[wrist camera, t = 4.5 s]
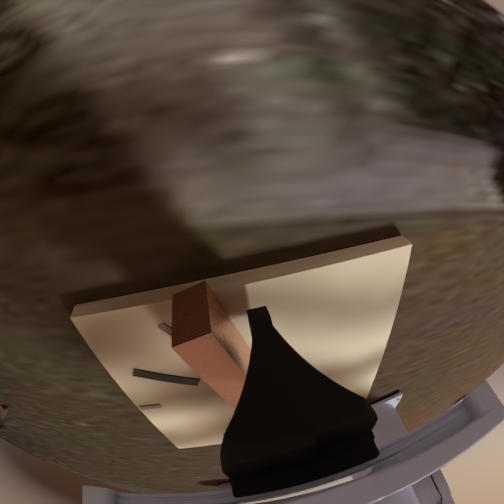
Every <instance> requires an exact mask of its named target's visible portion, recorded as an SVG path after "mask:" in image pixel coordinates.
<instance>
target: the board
mask: <svg viewBox="0 0 504 504" xmlns="http://www.w3.org/2000/svg"><path fill="white" fill-rule="evenodd" d="M411 247H412V244H411V243H410V242H409V241H408V240H407V239H406V238H404V237H403V236H402V235H401V236H397V237H393V238H388V239H384V240H380V241H376V242H372V243H367V244H363V245H359V246H354V247H350V248H346V249H341V250H337V251H333V252H328V253H324V254H320V255H315V256H311V257H306V258H302V259H297V260H293V261H288V262H284V263H279V264H275V265H270V266H265V267H261V268H256V269H252V270H247V271H242V272H238V273H233V274H228V275H223V276H219V277H214V278H209V279H204V280H199V281H195V282H190V283H185V284H180V285H175V286H170V287H165V288H160V289H155V290H150V291H145V292H140V293H135V294H130V295H125V296H120V297H114V298H109V299H104V300H99V301H93V302H88V303H83V304H77V305H75V306H74V309H73V311H72V314H71V317H70V319H71V320H72V322H73V323H74V325H75V326H76V328H77V329H78V331H79V332H80V334H81V335H82V337H83V338H84V340H85V341H86V343H87V344H88V346H89V347H90V348H91V350H92V351H93V353H94V354H95V355H96V357H97V358H98V359H99V361H100V362H101V363H102V365H103V366H104V367H105V369H106V370H107V371H108V372H109V374H110V375H111V376H112V378H113V379H114V380H115V381H116V382H117V384H118V385H119V386H120V387H121V389H122V390H123V391H124V392H125V393H126V394H127V396H128V397H129V398H130V399H131V400H132V401H133V402H134V404H135V405H136V406H137V407H138V408H139V409H140V410H141V411H142V412H143V414H144V415H145V416H146V417H147V418H148V419H149V420H150V421H151V422H152V423H153V424H154V425H155V426H156V427H157V428H158V429H159V430H160V431H161V432H162V433H163V434H164V435H165V436H166V437H167V438H168V439H169V440H170V441H171V442H172V443H173V444H174V445H175V446H176V447H177V448H190V447H198V446H206V445H214V444H220V443H222V441H223V435H224V433H225V431H226V429H227V427H228V425H229V423H230V421H231V419H232V416H233V414H234V411H235V408H233V407H232V406H231V405H230V404H229V403H228V402H227V401H226V400H224V399H223V398H222V397H221V396H220V395H219V394H218V393H217V392H216V391H215V390H213V389H212V388H211V387H210V386H209V385H208V384H207V383H206V382H205V381H204V380H203V379H202V378H201V377H200V376H199V375H198V374H197V373H196V372H195V371H194V370H193V369H192V368H191V367H190V366H189V365H188V364H187V363H186V362H185V361H184V360H183V359H182V358H181V357H180V356H179V355H178V354H177V353H176V352H175V351H174V350H173V349H172V348H171V345H172V295H173V294H175V293H177V292H180V291H182V290H184V289H187V288H189V287H191V286H194V285H196V284H198V283H201V282H203V281H205V280H206V282H207V284H208V285H209V287H210V288H211V290H212V291H213V293H214V295H215V296H216V298H217V299H218V301H219V302H220V304H221V305H222V307H223V308H224V310H225V312H226V313H227V315H228V316H229V318H230V319H231V321H232V322H233V324H234V325H235V327H236V328H237V330H238V331H239V333H240V334H241V336H242V337H243V339H244V340H245V342H246V343H247V344H248V346H249V347H250V349H251V346H252V336H251V331H250V326H249V321H248V316H247V311H246V310H249V309H253V308H258V307H262V306H266V307H267V309H268V311H269V314H270V316H271V320H272V324H273V326H274V327H275V328H276V330H277V331H278V332H279V333H280V334H281V336H282V337H283V338H284V339H285V340H286V341H287V342H288V344H289V345H290V346H291V347H292V348H293V349H294V350H295V351H296V352H297V353H298V354H299V355H301V356H302V357H303V358H304V359H305V360H306V361H307V362H309V363H310V364H311V365H312V366H313V367H315V368H316V369H317V370H319V371H320V372H321V373H323V374H324V375H326V376H327V377H329V378H330V379H332V380H333V381H335V382H336V383H338V384H340V385H341V386H343V387H345V388H346V389H348V390H350V391H352V392H354V393H356V394H358V395H360V396H362V397H364V398H365V399H366V398H367V396H368V393H369V391H370V388H371V386H372V383H373V381H374V378H375V376H376V373H377V370H378V367H379V365H380V362H381V359H382V356H383V353H384V350H385V347H386V344H387V341H388V338H389V335H390V332H391V329H392V325H393V322H394V318H395V315H396V311H397V308H398V304H399V300H400V297H401V293H402V289H403V285H404V280H405V276H406V272H407V267H408V262H409V258H410V253H411Z"/></svg>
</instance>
